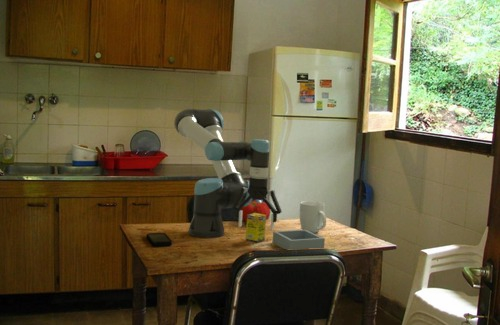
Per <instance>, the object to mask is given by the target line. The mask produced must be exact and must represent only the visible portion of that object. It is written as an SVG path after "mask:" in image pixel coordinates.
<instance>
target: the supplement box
mask: <svg viewBox="0 0 500 325" xmlns="http://www.w3.org/2000/svg"><path fill="white" fill-rule="evenodd" d="M266 222H267V220H266V215H264V214H258V213H253V214H249V215H247V222H246V232H245V233H246V234H245V241H247V242H251V243H256V244H259V243H261V242H264V241H265V238H266V224H267V223H266Z"/></svg>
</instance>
